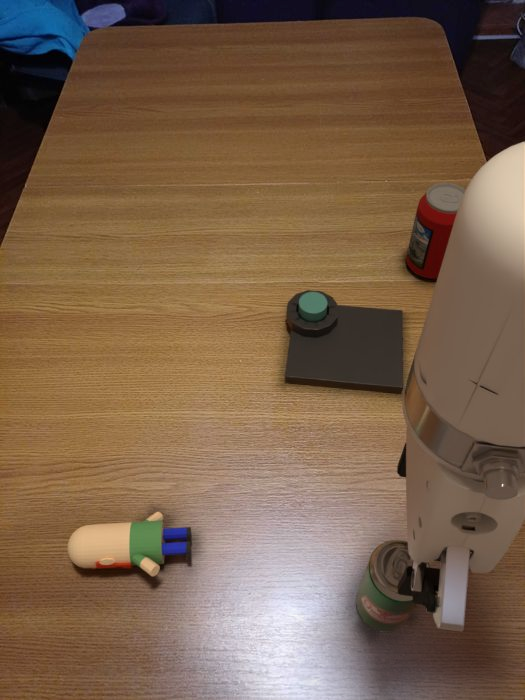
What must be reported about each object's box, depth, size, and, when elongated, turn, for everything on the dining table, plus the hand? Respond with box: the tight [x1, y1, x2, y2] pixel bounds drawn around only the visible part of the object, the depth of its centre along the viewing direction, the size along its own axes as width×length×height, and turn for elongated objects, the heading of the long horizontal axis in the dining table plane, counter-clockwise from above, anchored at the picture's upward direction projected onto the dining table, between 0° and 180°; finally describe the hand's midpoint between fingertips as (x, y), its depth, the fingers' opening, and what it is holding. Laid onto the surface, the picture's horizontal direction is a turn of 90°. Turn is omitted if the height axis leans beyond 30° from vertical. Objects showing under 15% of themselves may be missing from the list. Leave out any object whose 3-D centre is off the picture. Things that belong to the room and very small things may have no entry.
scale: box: [284, 289, 404, 395], centre depth 77 cm, size 15×13×3 cm
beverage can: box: [405, 182, 466, 279], centre depth 81 cm, size 7×7×12 cm
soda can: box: [355, 539, 431, 633], centre depth 54 cm, size 5×5×12 cm
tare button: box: [298, 292, 328, 322], centre depth 77 cm, size 4×4×2 cm
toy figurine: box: [66, 511, 193, 577], centre depth 61 cm, size 8×4×12 cm
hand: (419, 529), depth 43 cm, fingers open, 8 cm apart
